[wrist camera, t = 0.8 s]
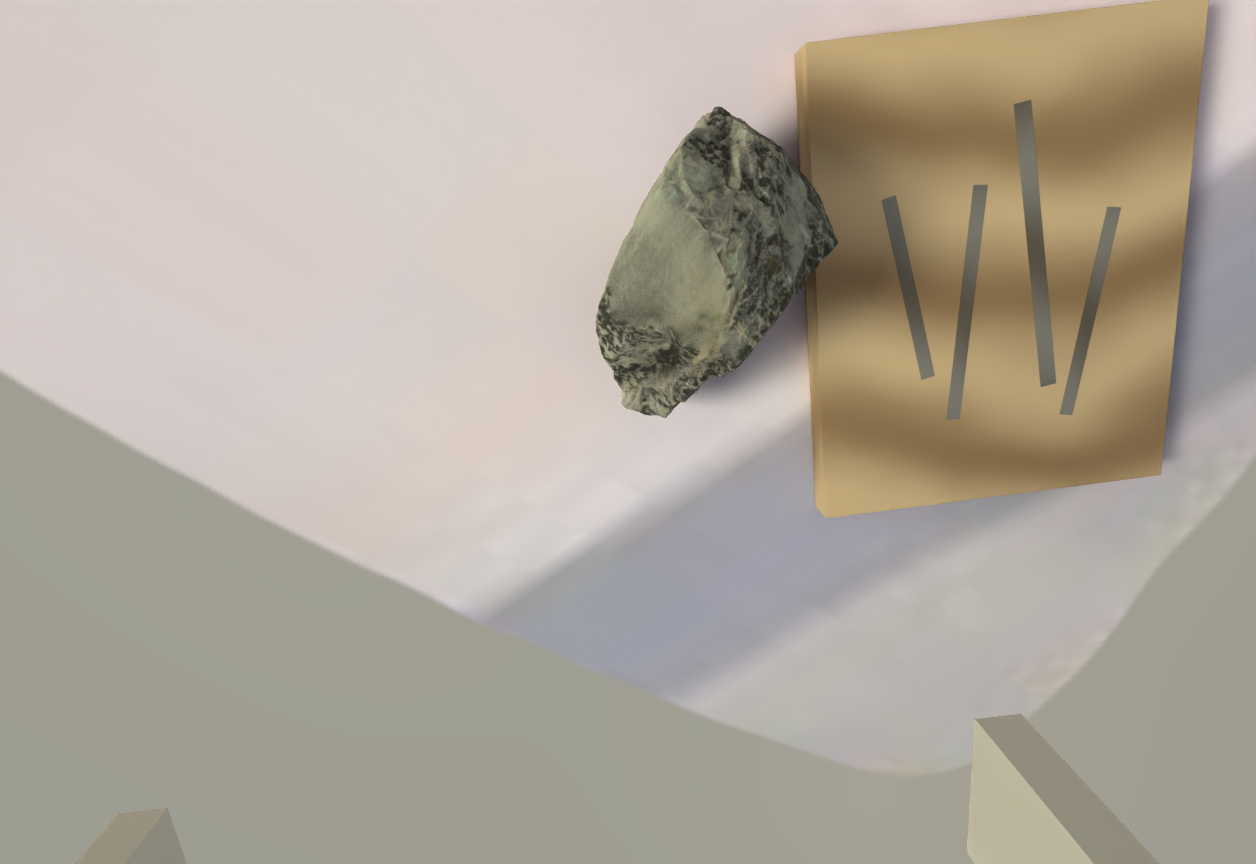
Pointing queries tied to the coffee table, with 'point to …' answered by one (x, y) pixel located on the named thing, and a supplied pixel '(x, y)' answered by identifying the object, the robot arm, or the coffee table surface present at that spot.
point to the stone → (708, 263)
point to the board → (997, 251)
